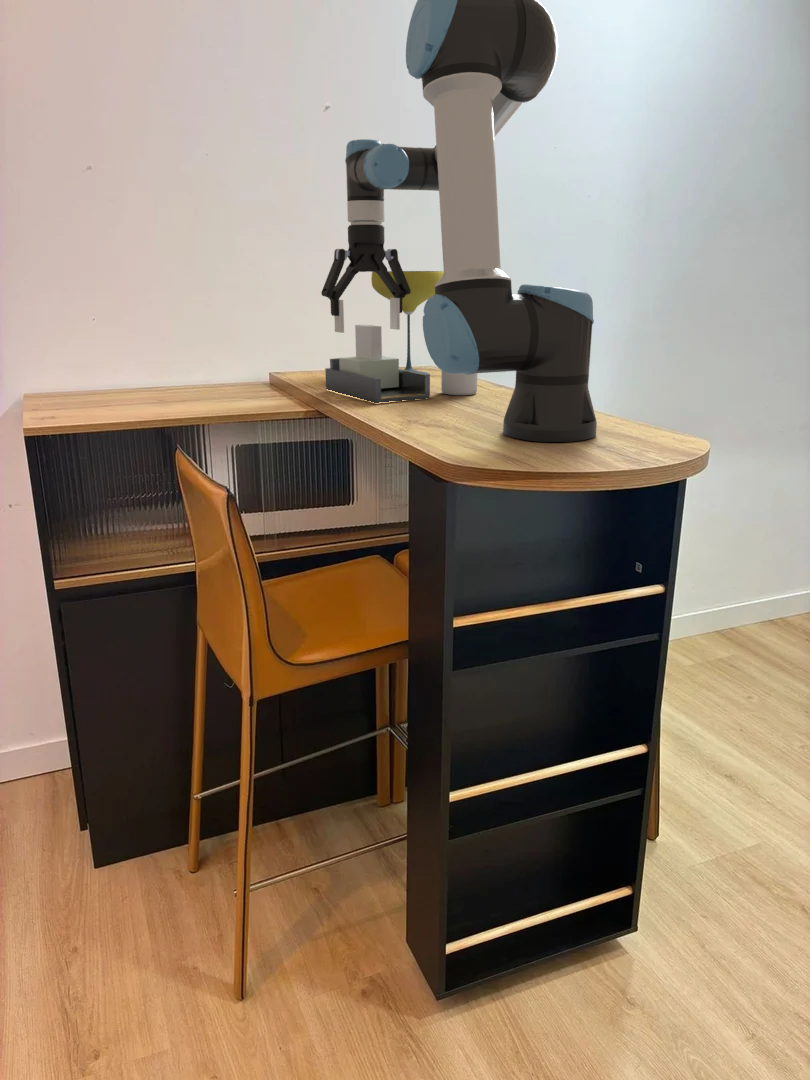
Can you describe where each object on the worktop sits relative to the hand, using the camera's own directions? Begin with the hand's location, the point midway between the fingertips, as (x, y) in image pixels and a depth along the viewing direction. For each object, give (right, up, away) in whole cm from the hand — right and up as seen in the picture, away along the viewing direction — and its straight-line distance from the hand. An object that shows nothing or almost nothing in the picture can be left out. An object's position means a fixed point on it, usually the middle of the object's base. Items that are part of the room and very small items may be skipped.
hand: (367, 330), depth 175 cm
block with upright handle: (0, -11, +4) cm, 12 cm away
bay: (+2, -13, +2) cm, 14 cm away
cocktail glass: (+9, -3, +33) cm, 34 cm away
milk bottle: (+20, -13, +3) cm, 24 cm away
